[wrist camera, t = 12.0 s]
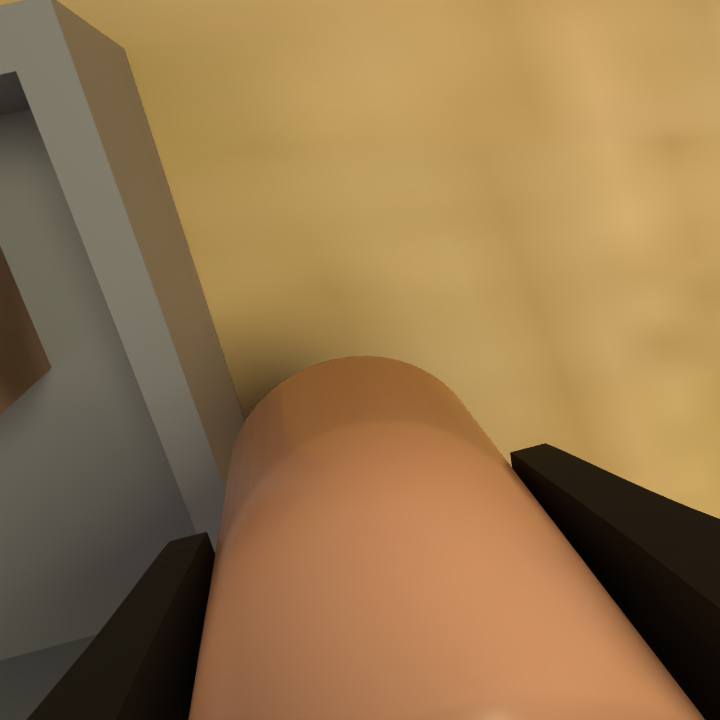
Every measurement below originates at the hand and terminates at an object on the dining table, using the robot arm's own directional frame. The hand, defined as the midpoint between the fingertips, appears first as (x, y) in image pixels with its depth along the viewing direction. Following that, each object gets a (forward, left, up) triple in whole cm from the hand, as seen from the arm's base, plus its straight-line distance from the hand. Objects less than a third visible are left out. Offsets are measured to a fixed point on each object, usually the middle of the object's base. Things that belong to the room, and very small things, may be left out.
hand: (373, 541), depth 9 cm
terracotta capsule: (0, 0, -2) cm, 2 cm away
